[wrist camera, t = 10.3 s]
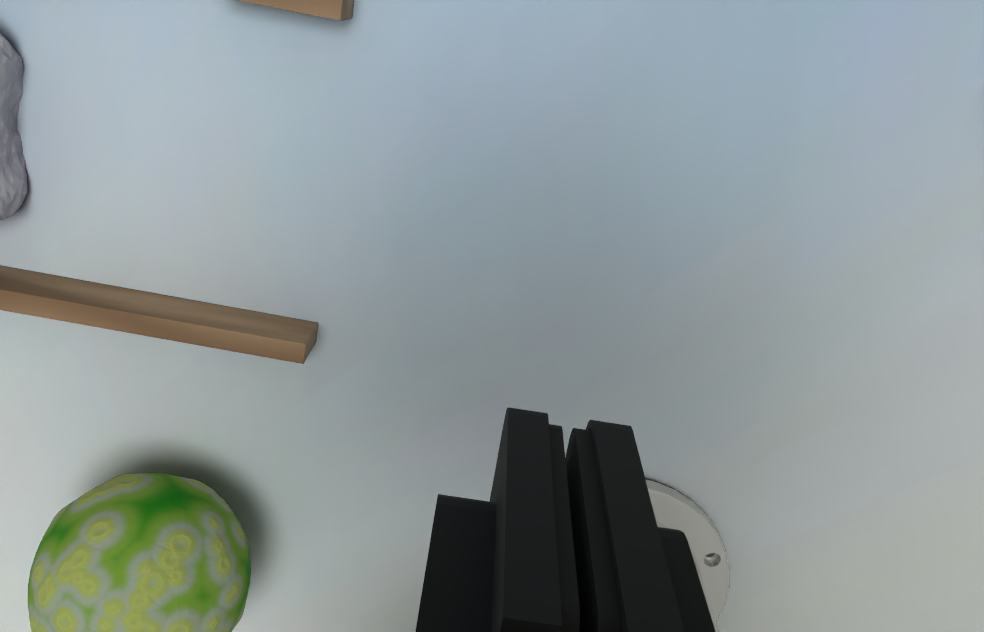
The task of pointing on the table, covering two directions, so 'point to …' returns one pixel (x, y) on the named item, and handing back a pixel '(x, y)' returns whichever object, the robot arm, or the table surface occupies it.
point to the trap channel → (166, 312)
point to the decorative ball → (141, 560)
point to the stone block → (10, 132)
